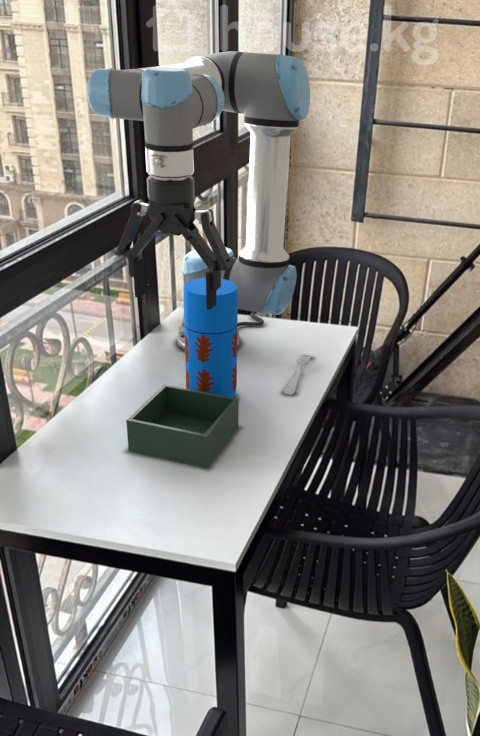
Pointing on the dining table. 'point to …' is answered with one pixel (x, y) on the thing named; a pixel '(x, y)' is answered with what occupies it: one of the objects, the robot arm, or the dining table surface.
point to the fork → (296, 375)
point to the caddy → (183, 425)
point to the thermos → (211, 338)
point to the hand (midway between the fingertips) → (175, 300)
